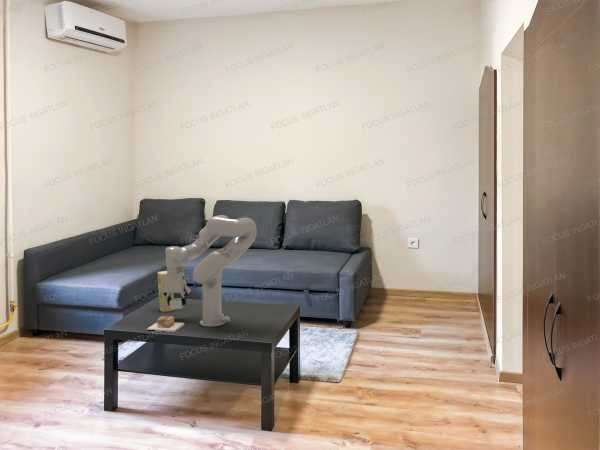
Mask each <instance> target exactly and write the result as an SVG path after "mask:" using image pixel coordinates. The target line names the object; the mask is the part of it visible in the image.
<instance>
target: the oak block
mask: <svg viewBox="0 0 600 450" xmlns="http://www.w3.org/2000/svg"><path fill="white" fill-rule="evenodd" d="M156 320H157V322H156V323H157V327H161V328H170V327H171V326H173V325H174V323H175V316H171V315H162V316H159V318H157V319H156Z"/></svg>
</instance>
